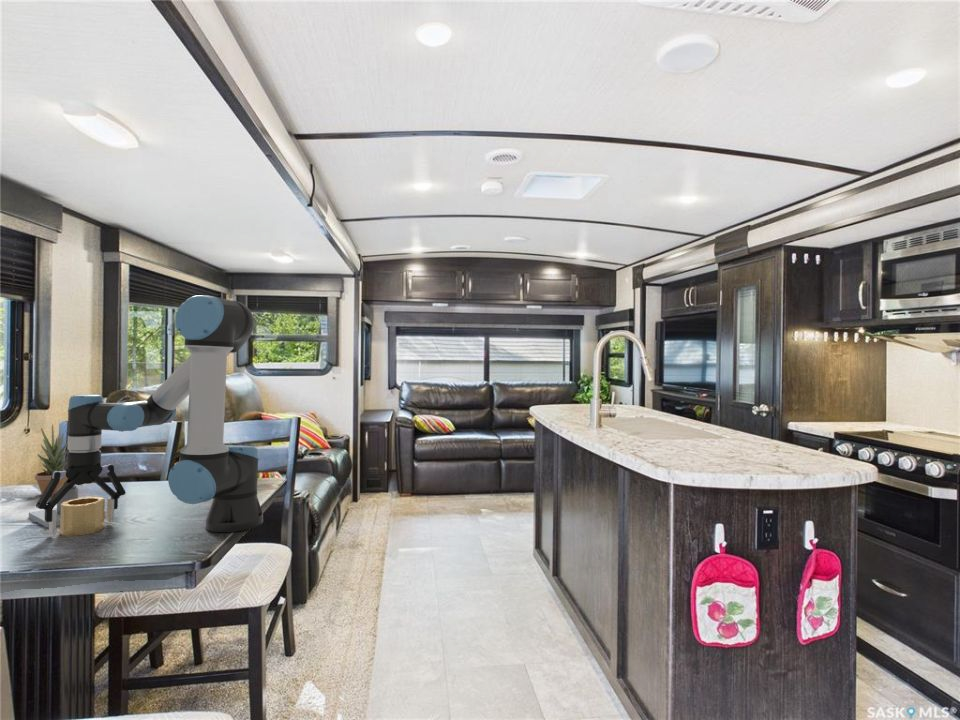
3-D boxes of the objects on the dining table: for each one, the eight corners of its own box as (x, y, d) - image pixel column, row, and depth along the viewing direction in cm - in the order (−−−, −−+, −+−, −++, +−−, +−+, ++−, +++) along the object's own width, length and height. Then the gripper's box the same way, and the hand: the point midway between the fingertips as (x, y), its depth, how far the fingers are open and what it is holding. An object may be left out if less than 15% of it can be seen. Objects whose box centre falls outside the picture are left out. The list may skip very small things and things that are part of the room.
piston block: (105, 516, 157) (105, 486, 157) (47, 527, 146) (48, 495, 146) (84, 507, 166) (85, 478, 166) (28, 517, 155) (29, 487, 155)
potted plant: (28, 494, 180) (29, 423, 181) (59, 488, 189) (60, 421, 189) (45, 498, 177) (47, 425, 177) (76, 492, 185) (77, 422, 185)
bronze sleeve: (109, 529, 145) (109, 500, 145) (68, 538, 138) (68, 508, 138) (95, 523, 151) (96, 495, 151) (55, 531, 143) (56, 502, 143)
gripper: (128, 443, 157) (126, 514, 157) (22, 454, 136) (20, 535, 136) (139, 446, 152) (137, 519, 152) (31, 458, 132) (29, 542, 132)
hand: (82, 527), depth 144 cm, fingers open, 13 cm apart
